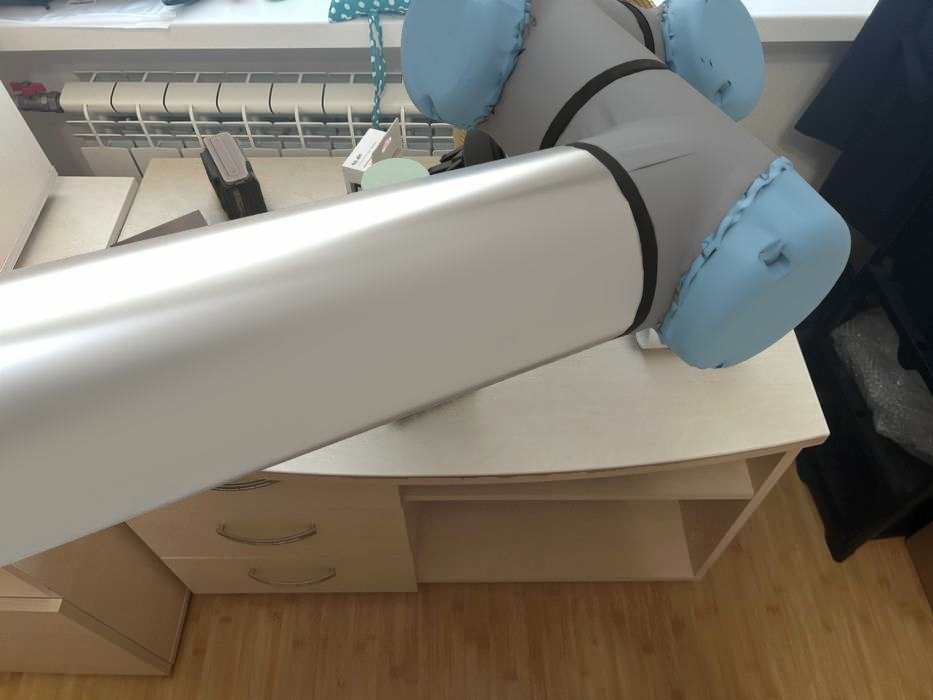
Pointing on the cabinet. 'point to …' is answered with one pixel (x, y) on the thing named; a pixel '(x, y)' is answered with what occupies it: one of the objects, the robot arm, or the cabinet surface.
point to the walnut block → (169, 228)
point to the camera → (232, 176)
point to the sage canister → (392, 172)
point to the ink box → (371, 154)
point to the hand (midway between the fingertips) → (371, 229)
